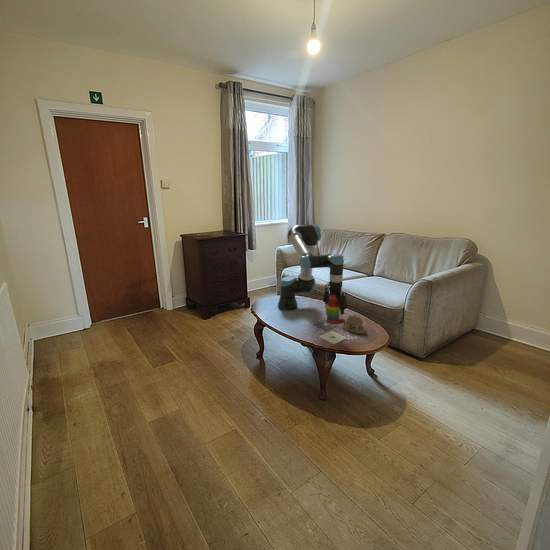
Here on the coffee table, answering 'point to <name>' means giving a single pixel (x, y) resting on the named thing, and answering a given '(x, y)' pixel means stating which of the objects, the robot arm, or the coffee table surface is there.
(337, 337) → the pad
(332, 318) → the stacking bear
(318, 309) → the coffee table surface
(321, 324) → the pad
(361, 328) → the beige lumpy chunk
